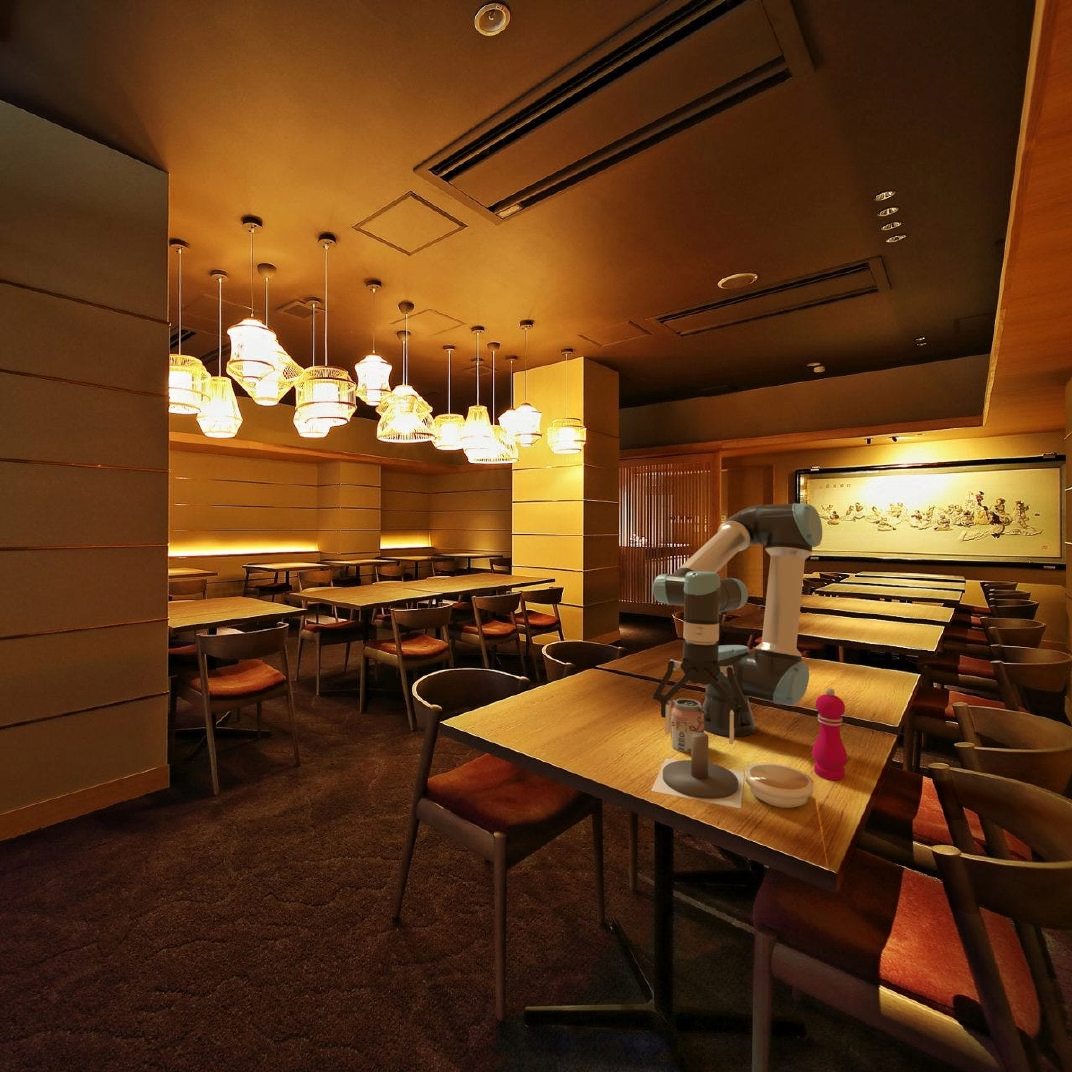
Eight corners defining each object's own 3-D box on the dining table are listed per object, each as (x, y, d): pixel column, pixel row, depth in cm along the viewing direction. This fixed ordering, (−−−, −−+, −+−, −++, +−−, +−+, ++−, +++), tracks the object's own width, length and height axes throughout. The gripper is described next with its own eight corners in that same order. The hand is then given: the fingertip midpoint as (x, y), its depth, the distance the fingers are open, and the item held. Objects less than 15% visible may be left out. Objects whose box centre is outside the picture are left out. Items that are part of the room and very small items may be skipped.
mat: (665, 760, 132) (665, 758, 132) (744, 774, 125) (744, 771, 125) (650, 793, 115) (650, 790, 115) (740, 811, 108) (740, 808, 108)
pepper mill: (835, 767, 128) (836, 683, 128) (854, 781, 121) (855, 693, 121) (805, 767, 128) (806, 683, 128) (822, 781, 121) (823, 693, 121)
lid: (669, 760, 130) (669, 718, 130) (739, 772, 124) (740, 728, 124) (656, 789, 116) (656, 742, 116) (735, 805, 109) (736, 755, 109)
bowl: (746, 781, 121) (746, 758, 121) (811, 792, 116) (811, 769, 116) (743, 808, 109) (744, 783, 109) (815, 822, 104) (816, 796, 104)
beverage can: (680, 738, 146) (680, 694, 145) (711, 746, 140) (711, 700, 140) (665, 749, 138) (665, 703, 138) (696, 758, 133) (697, 710, 133)
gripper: (641, 638, 121) (639, 733, 121) (761, 650, 111) (759, 753, 111) (648, 633, 128) (646, 722, 128) (762, 643, 118) (760, 740, 118)
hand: (699, 737), depth 119 cm, fingers open, 13 cm apart
